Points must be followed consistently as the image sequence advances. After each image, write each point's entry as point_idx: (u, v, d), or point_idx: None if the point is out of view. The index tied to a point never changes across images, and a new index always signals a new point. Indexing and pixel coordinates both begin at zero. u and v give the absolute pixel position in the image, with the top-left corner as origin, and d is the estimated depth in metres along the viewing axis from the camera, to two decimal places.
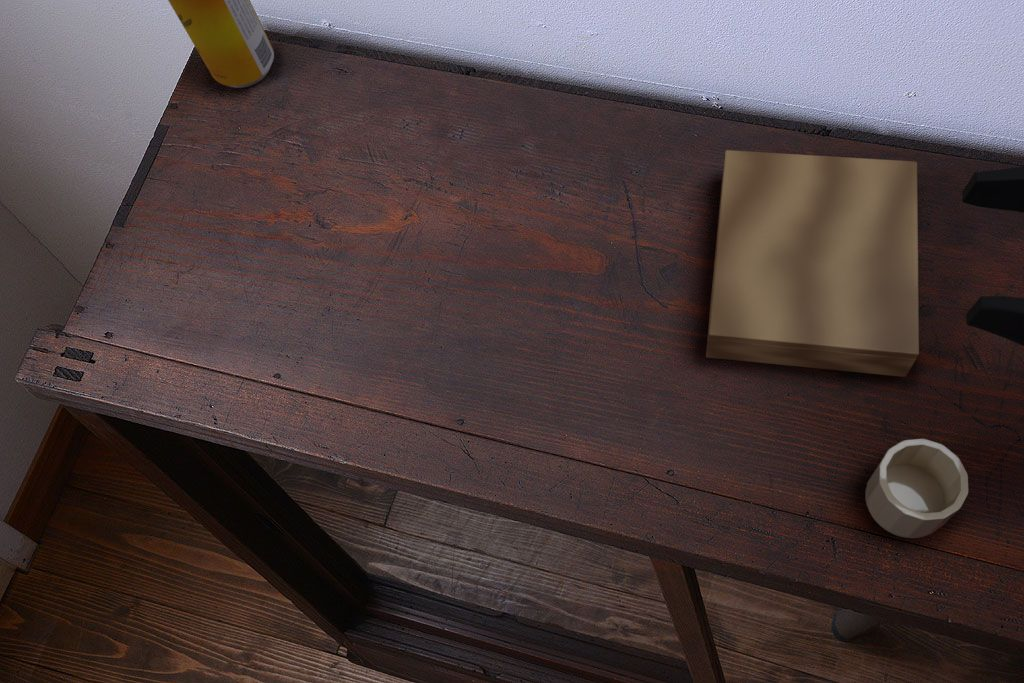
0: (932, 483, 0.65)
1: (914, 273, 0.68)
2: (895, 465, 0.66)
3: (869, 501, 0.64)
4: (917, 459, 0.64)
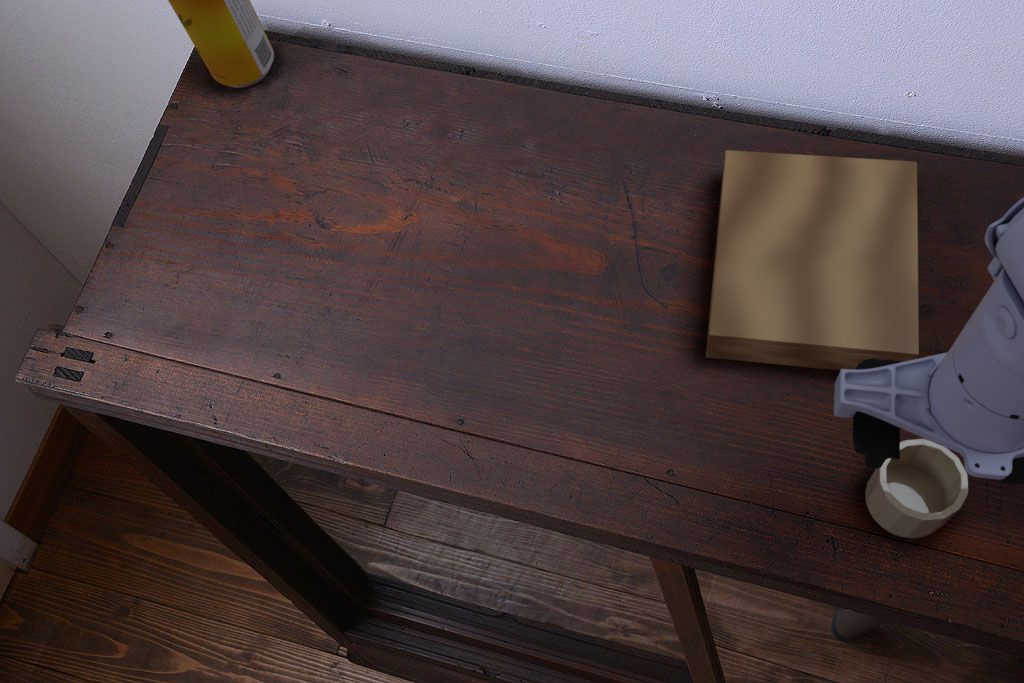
0: (932, 483, 0.65)
1: (914, 273, 0.68)
2: (895, 465, 0.66)
3: (869, 501, 0.64)
4: (917, 459, 0.64)
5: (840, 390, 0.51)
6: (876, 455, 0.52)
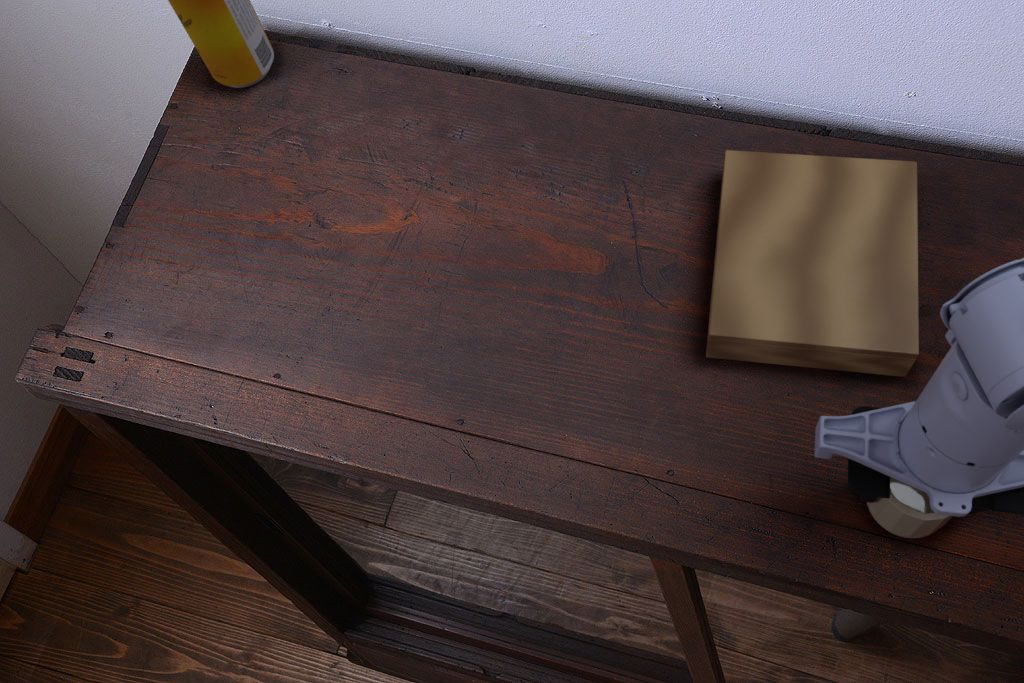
0: None
1: (914, 273, 0.68)
2: None
3: None
4: None
5: (820, 435, 0.57)
6: (868, 495, 0.57)
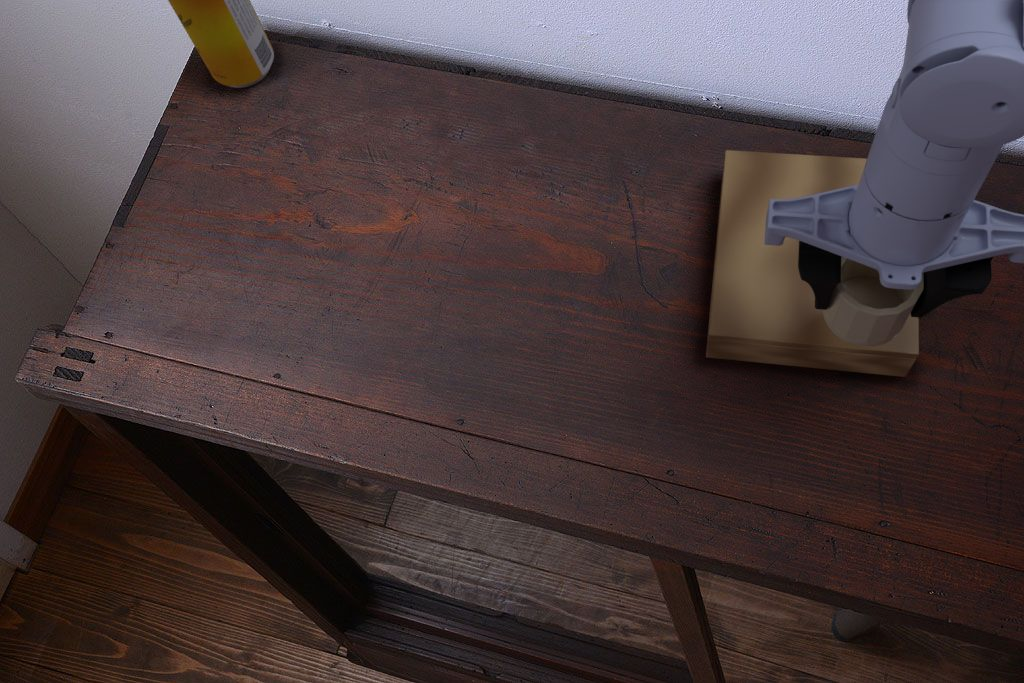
0: (890, 293, 0.64)
1: None
2: (852, 277, 0.64)
3: (826, 310, 0.63)
4: None
5: (768, 217, 0.56)
6: (819, 279, 0.56)
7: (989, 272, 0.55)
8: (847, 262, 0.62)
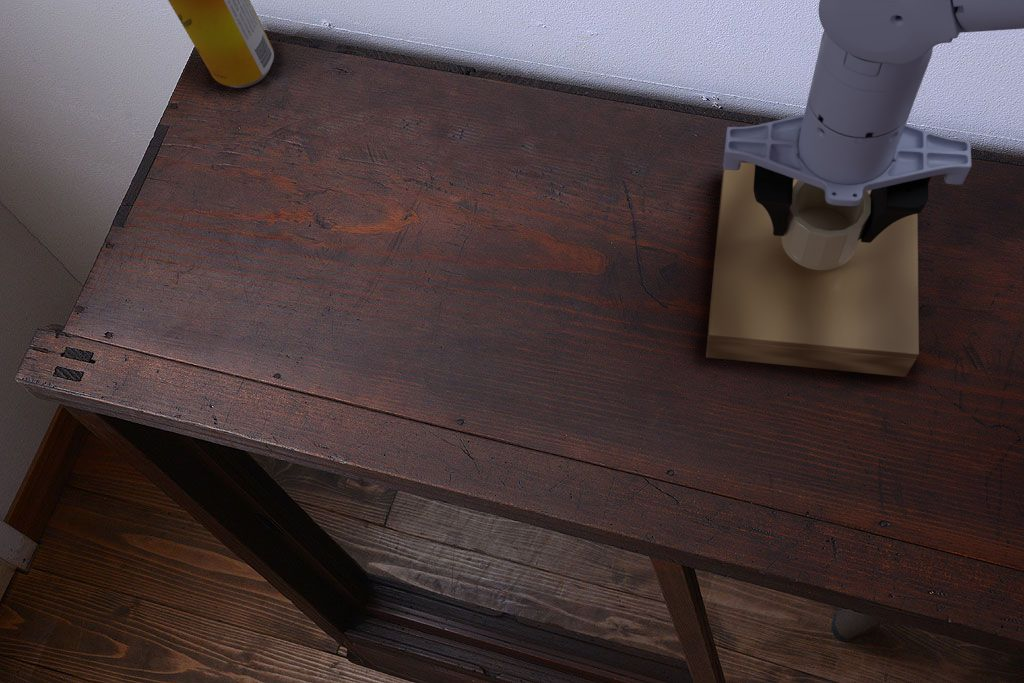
0: (843, 222, 0.69)
1: (914, 273, 0.68)
2: (809, 207, 0.70)
3: (783, 236, 0.68)
4: None
5: (726, 143, 0.61)
6: (772, 200, 0.61)
7: (926, 193, 0.60)
8: (802, 191, 0.67)
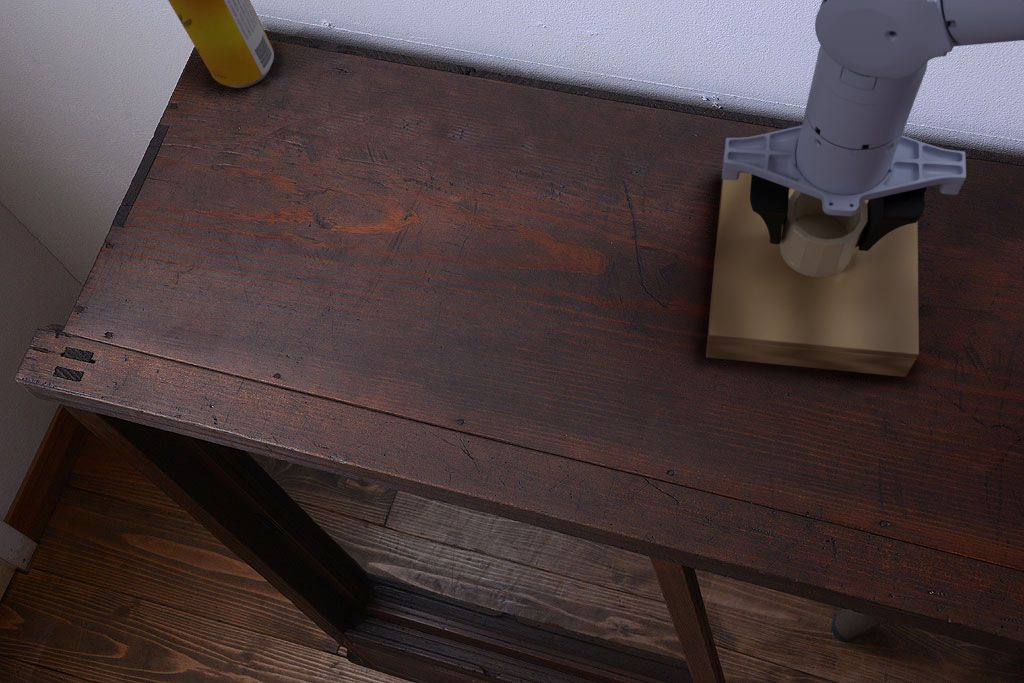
0: (840, 230, 0.70)
1: (914, 273, 0.68)
2: (807, 215, 0.70)
3: (781, 244, 0.69)
4: None
5: (724, 153, 0.62)
6: (768, 210, 0.62)
7: (922, 202, 0.61)
8: (800, 199, 0.68)
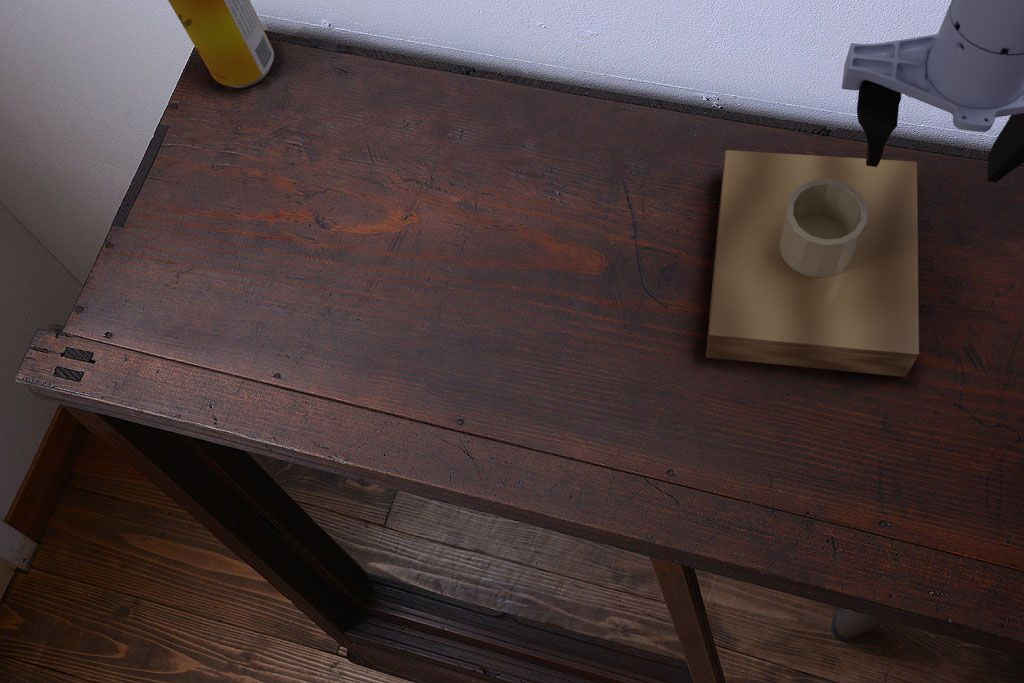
0: (840, 230, 0.70)
1: (914, 273, 0.68)
2: (807, 215, 0.70)
3: (781, 244, 0.69)
4: (825, 205, 0.69)
5: (849, 59, 0.58)
6: (876, 122, 0.59)
7: None
8: (800, 199, 0.68)
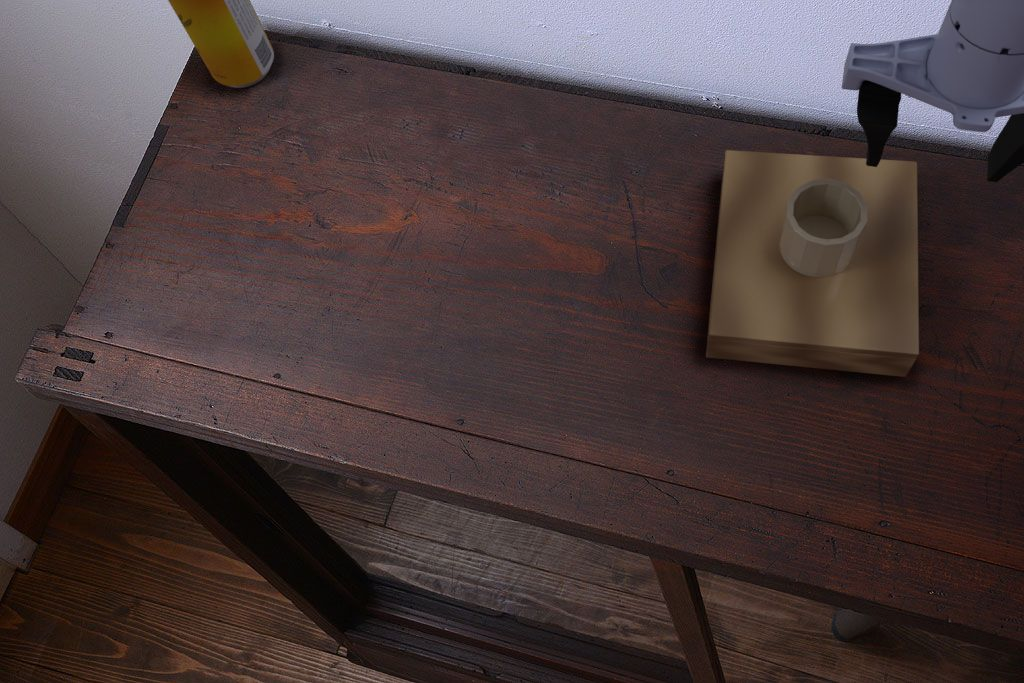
0: (840, 230, 0.70)
1: (914, 273, 0.68)
2: (807, 215, 0.70)
3: (781, 244, 0.69)
4: (825, 205, 0.69)
5: (849, 59, 0.58)
6: (876, 122, 0.59)
7: None
8: (800, 199, 0.68)
